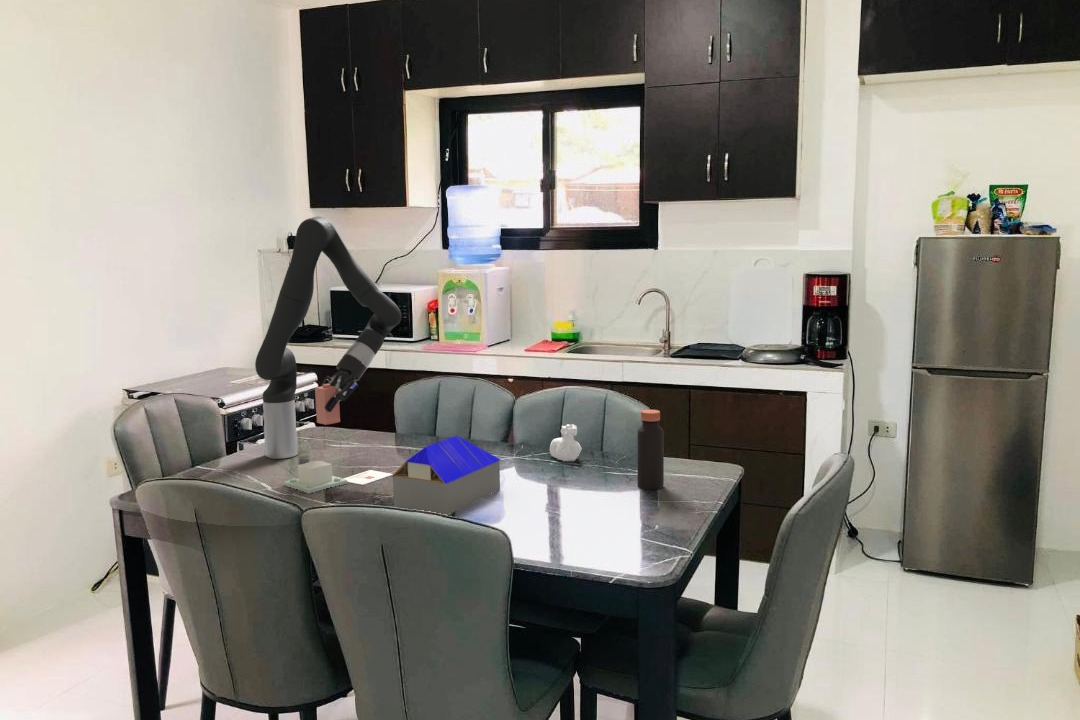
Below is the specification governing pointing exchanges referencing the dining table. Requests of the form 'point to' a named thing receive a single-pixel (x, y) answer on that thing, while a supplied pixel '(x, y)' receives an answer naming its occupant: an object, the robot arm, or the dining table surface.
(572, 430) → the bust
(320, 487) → the tower base
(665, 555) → the dining table surface
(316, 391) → the tall brick
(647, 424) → the bottle
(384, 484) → the dining table surface
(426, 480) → the house
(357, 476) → the page
